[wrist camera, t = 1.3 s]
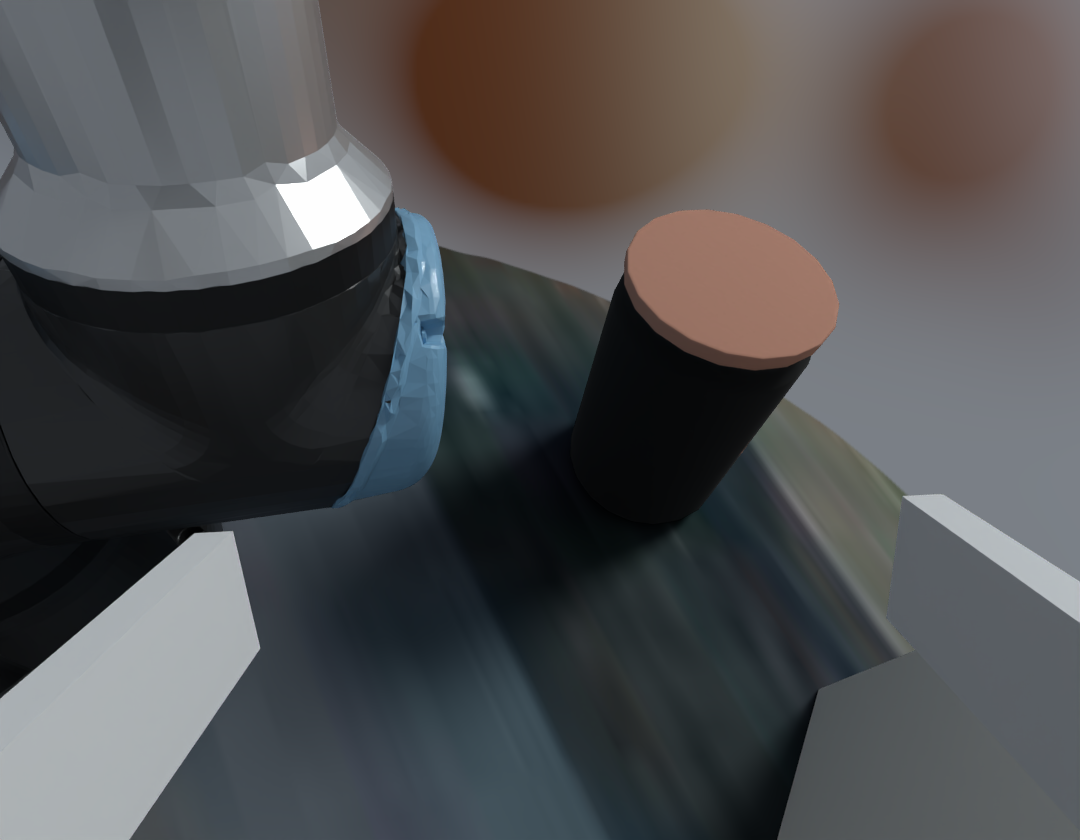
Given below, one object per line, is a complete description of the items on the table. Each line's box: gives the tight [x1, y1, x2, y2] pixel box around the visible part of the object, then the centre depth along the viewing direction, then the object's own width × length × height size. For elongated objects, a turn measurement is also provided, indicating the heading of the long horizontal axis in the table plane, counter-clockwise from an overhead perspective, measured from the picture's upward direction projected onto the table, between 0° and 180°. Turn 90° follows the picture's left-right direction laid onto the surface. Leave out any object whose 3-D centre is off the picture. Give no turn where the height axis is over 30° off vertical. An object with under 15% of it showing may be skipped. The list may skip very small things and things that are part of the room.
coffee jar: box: [570, 210, 839, 524], centre depth 36 cm, size 11×11×18 cm
